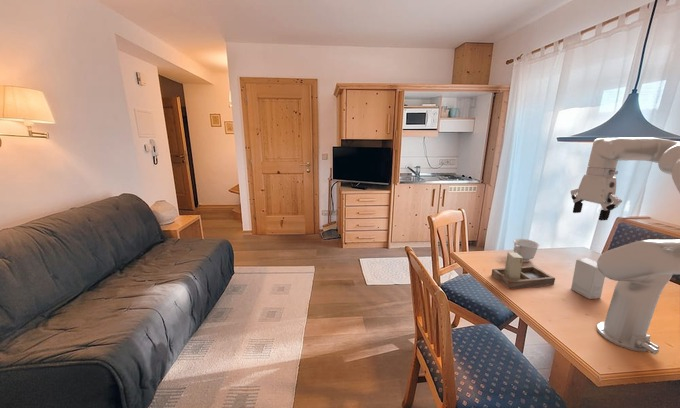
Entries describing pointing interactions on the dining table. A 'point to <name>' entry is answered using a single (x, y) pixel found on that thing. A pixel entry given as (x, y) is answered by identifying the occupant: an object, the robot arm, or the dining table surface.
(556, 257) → the dining table surface
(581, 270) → the skincare box
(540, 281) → the divided wooden tray
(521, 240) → the teacup
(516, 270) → the skincare box
